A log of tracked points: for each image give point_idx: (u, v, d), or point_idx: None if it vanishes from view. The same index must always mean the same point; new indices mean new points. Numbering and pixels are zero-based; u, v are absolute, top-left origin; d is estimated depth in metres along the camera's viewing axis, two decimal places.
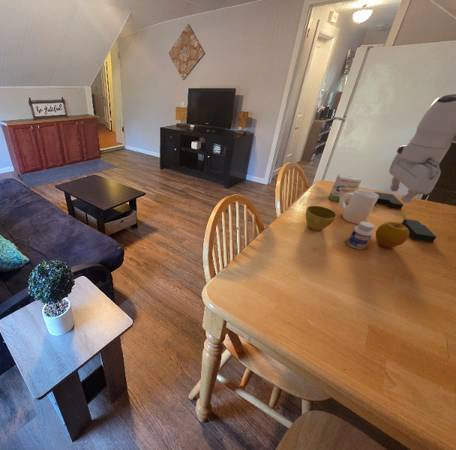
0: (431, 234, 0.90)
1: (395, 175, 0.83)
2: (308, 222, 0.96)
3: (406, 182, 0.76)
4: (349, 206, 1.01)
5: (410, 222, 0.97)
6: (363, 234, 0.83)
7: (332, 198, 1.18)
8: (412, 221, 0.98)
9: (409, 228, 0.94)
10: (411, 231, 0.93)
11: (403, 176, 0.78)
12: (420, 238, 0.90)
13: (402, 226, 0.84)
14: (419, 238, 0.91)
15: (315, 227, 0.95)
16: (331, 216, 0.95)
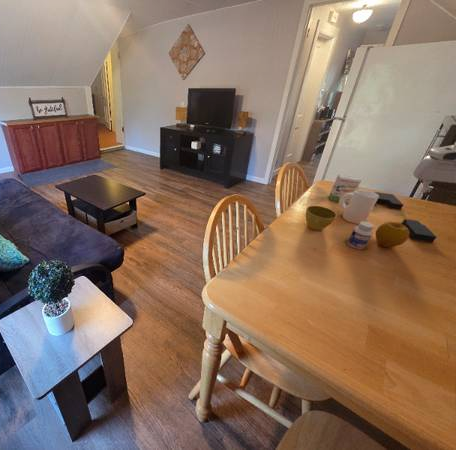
0: (431, 234, 0.90)
1: (438, 179, 0.81)
2: (308, 222, 0.96)
3: None
4: (349, 206, 1.01)
5: (410, 222, 0.97)
6: (363, 234, 0.83)
7: (332, 198, 1.18)
8: (412, 221, 0.98)
9: (409, 228, 0.94)
10: (411, 231, 0.93)
11: None
12: (420, 238, 0.90)
13: (402, 226, 0.84)
14: (419, 238, 0.91)
15: (315, 227, 0.95)
16: (331, 216, 0.95)
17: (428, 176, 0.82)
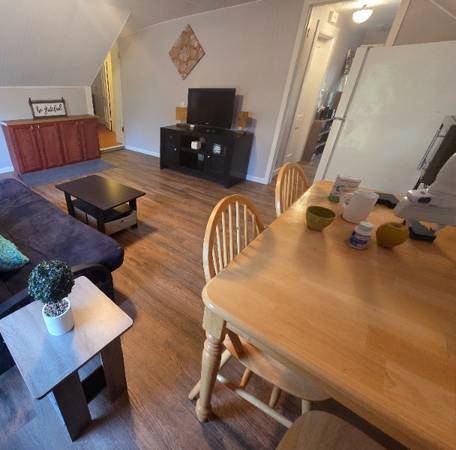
0: (431, 234, 0.90)
1: (415, 218, 0.90)
2: (308, 222, 0.96)
3: (443, 222, 0.88)
4: (349, 206, 1.01)
5: (410, 222, 0.97)
6: (363, 234, 0.83)
7: (332, 198, 1.18)
8: None
9: None
10: (412, 231, 0.92)
11: (434, 218, 0.88)
12: (420, 238, 0.90)
13: (402, 226, 0.84)
14: (419, 238, 0.91)
15: (315, 227, 0.95)
16: (331, 216, 0.95)
17: (405, 215, 0.91)
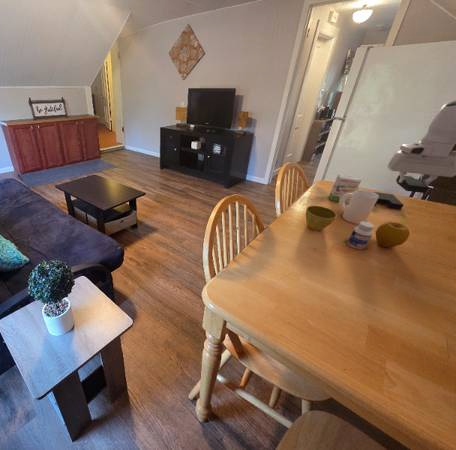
0: (424, 185, 0.94)
1: (408, 170, 0.95)
2: (308, 222, 0.96)
3: (435, 172, 0.92)
4: (349, 206, 1.01)
5: (404, 177, 1.01)
6: (363, 234, 0.83)
7: (332, 198, 1.18)
8: (406, 176, 1.02)
9: None
10: (405, 184, 0.97)
11: (427, 169, 0.93)
12: (413, 189, 0.95)
13: (402, 226, 0.84)
14: (412, 189, 0.95)
15: (315, 227, 0.95)
16: (331, 216, 0.95)
17: (400, 168, 0.95)
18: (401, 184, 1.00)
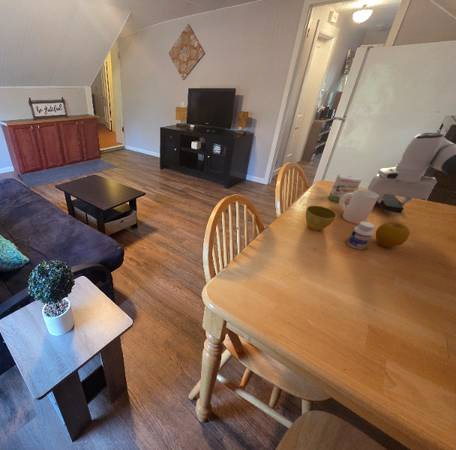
0: (399, 206, 1.04)
1: (385, 192, 1.05)
2: (308, 222, 0.96)
3: (409, 195, 1.02)
4: (349, 206, 1.01)
5: (382, 197, 1.11)
6: (363, 234, 0.83)
7: (332, 198, 1.18)
8: (385, 197, 1.12)
9: None
10: (383, 204, 1.07)
11: (401, 191, 1.03)
12: (390, 210, 1.05)
13: (402, 226, 0.84)
14: (389, 210, 1.05)
15: (315, 227, 0.95)
16: (331, 216, 0.95)
17: (377, 190, 1.06)
18: (380, 204, 1.10)
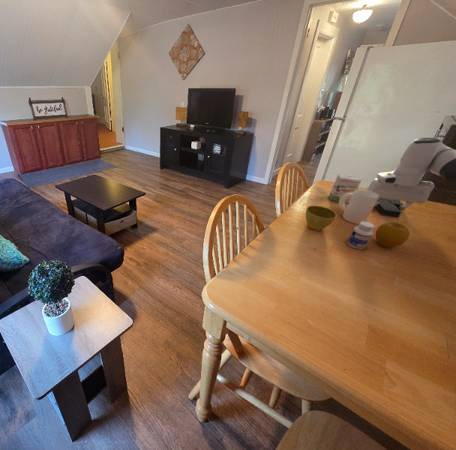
0: (397, 210, 1.05)
1: (384, 196, 1.06)
2: (308, 222, 0.96)
3: (407, 199, 1.03)
4: (349, 206, 1.01)
5: (380, 201, 1.12)
6: (363, 234, 0.83)
7: (332, 198, 1.18)
8: (383, 200, 1.13)
9: (379, 206, 1.10)
10: (381, 208, 1.08)
11: (399, 196, 1.04)
12: (388, 213, 1.06)
13: (402, 226, 0.84)
14: (387, 213, 1.06)
15: (315, 227, 0.95)
16: (331, 216, 0.95)
17: None
18: (378, 208, 1.11)
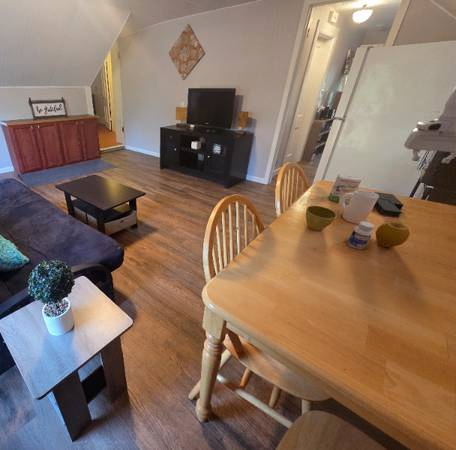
0: (397, 210, 1.05)
1: (425, 148, 0.95)
2: (308, 222, 0.96)
3: (453, 149, 0.93)
4: (349, 206, 1.01)
5: (380, 201, 1.12)
6: (363, 234, 0.83)
7: (332, 198, 1.18)
8: (383, 200, 1.13)
9: (379, 206, 1.10)
10: (381, 208, 1.08)
11: (444, 145, 0.93)
12: (388, 213, 1.06)
13: (402, 226, 0.84)
14: (387, 213, 1.06)
15: (315, 227, 0.95)
16: (331, 216, 0.95)
17: (416, 146, 0.96)
18: (378, 208, 1.11)
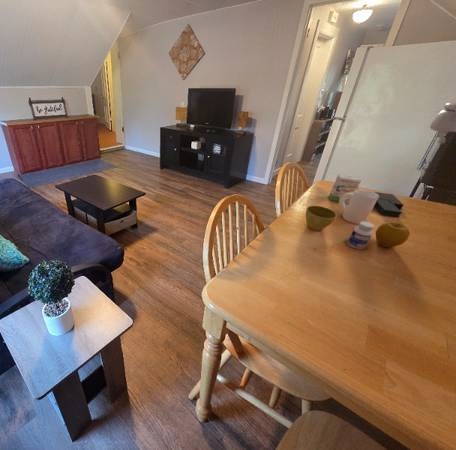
0: (397, 210, 1.05)
1: (453, 129, 0.93)
2: (308, 222, 0.96)
3: None
4: (349, 206, 1.01)
5: (380, 201, 1.12)
6: (363, 234, 0.83)
7: (332, 198, 1.18)
8: (383, 200, 1.13)
9: (379, 206, 1.10)
10: (381, 208, 1.08)
11: None
12: (388, 213, 1.06)
13: (402, 226, 0.84)
14: (387, 213, 1.06)
15: (315, 227, 0.95)
16: (331, 216, 0.95)
17: (444, 127, 0.94)
18: (378, 208, 1.11)
